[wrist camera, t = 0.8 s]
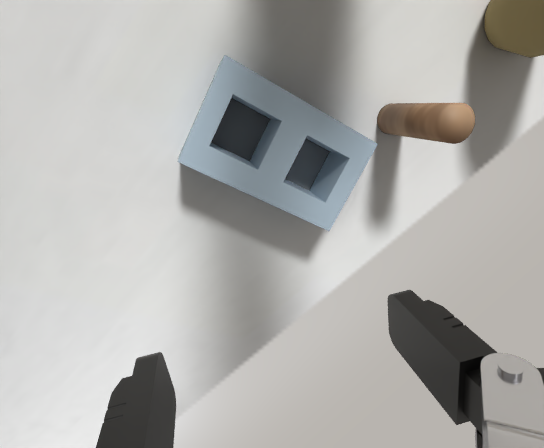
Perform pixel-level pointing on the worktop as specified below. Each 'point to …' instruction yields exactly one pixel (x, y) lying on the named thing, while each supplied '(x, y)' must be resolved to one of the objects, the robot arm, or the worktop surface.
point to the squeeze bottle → (516, 26)
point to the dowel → (428, 121)
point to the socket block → (277, 147)
